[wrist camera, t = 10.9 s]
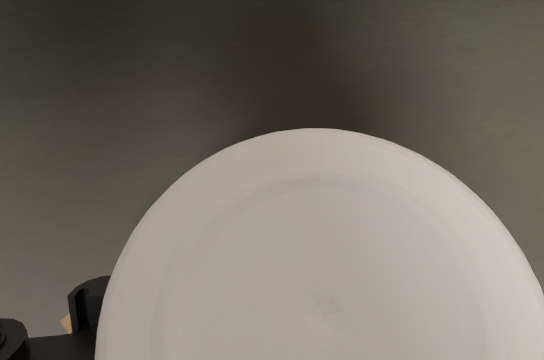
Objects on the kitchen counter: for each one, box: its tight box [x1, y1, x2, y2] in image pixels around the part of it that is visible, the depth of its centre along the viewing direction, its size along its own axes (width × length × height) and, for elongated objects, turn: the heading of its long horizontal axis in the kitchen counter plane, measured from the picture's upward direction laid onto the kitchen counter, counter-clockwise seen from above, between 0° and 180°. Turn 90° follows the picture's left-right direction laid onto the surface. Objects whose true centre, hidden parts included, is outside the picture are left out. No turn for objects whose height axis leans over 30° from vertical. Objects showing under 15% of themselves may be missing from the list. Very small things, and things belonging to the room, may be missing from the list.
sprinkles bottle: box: [95, 128, 544, 360], centre depth 10 cm, size 5×5×13 cm
